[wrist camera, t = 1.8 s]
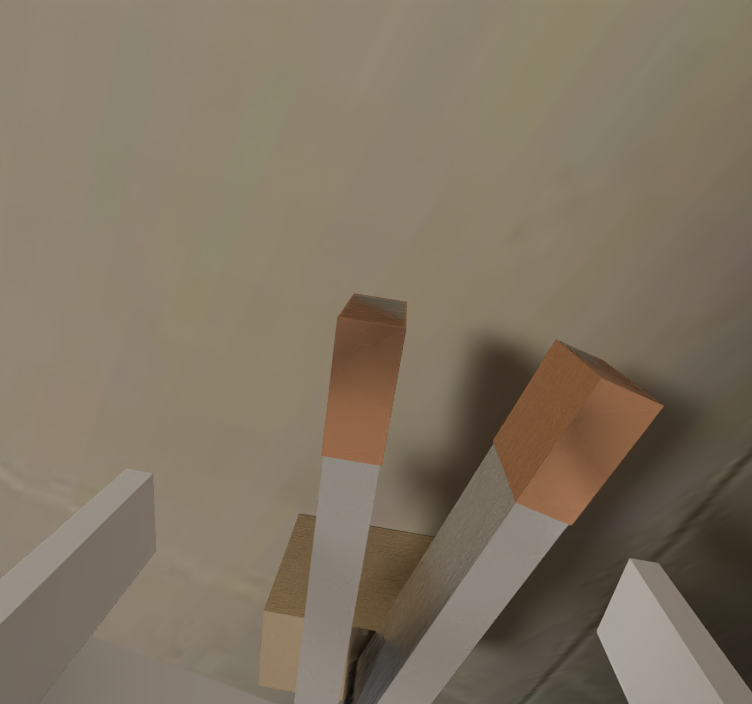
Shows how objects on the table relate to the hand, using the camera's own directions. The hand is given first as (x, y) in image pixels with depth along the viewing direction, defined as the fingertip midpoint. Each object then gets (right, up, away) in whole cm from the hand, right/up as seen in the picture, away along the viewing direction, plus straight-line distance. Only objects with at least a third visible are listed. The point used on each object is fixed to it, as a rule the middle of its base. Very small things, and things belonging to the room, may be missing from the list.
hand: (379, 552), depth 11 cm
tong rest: (0, 0, +10) cm, 10 cm away
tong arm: (+3, -2, +4) cm, 5 cm away
